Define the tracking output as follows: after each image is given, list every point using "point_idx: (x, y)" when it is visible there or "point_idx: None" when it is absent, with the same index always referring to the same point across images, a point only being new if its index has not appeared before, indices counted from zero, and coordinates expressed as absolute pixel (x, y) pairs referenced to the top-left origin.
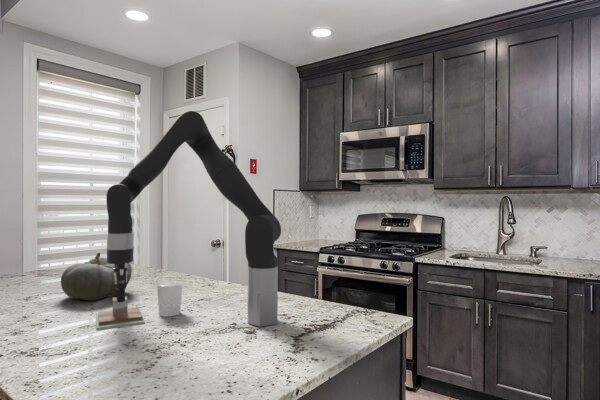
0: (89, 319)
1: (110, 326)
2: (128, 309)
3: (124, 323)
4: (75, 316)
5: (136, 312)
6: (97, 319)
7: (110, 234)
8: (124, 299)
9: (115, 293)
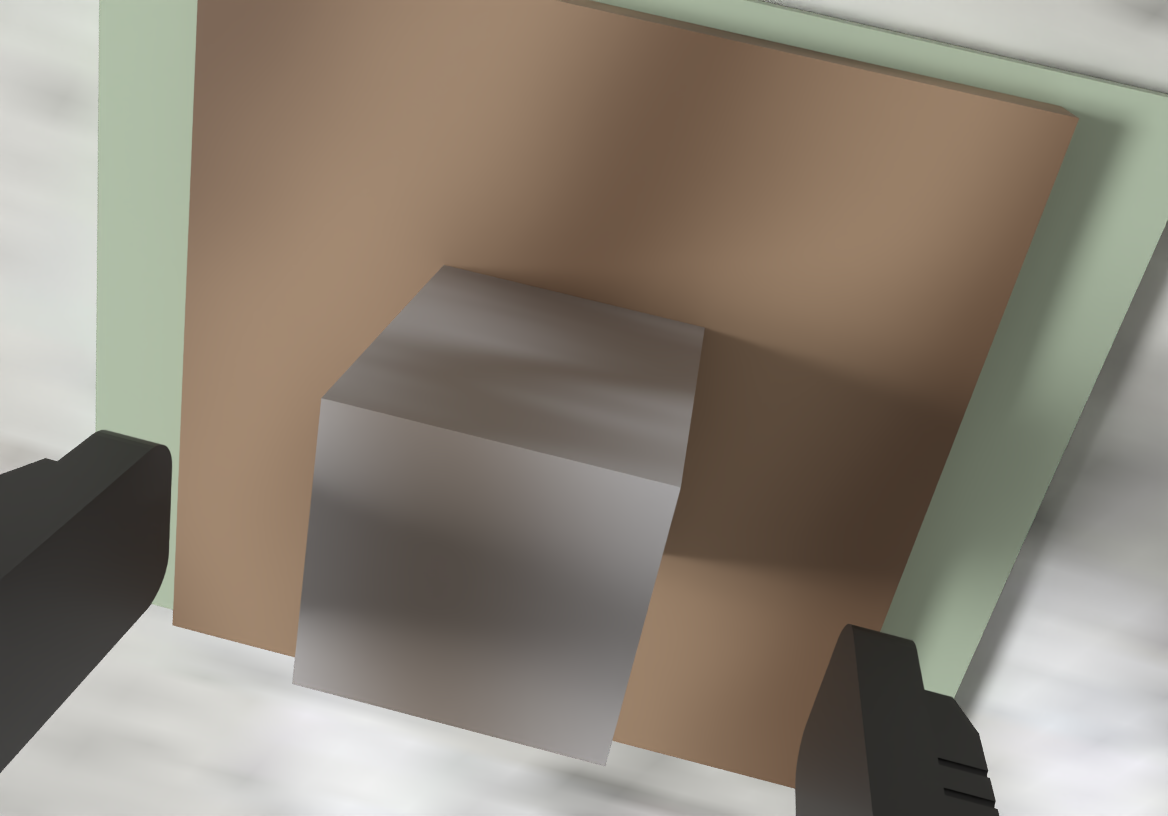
0: (281, 690)
1: (972, 648)
2: (281, 170)
3: (1016, 454)
4: (25, 764)
5: (636, 114)
6: None
7: None
8: (912, 668)
9: (120, 634)
